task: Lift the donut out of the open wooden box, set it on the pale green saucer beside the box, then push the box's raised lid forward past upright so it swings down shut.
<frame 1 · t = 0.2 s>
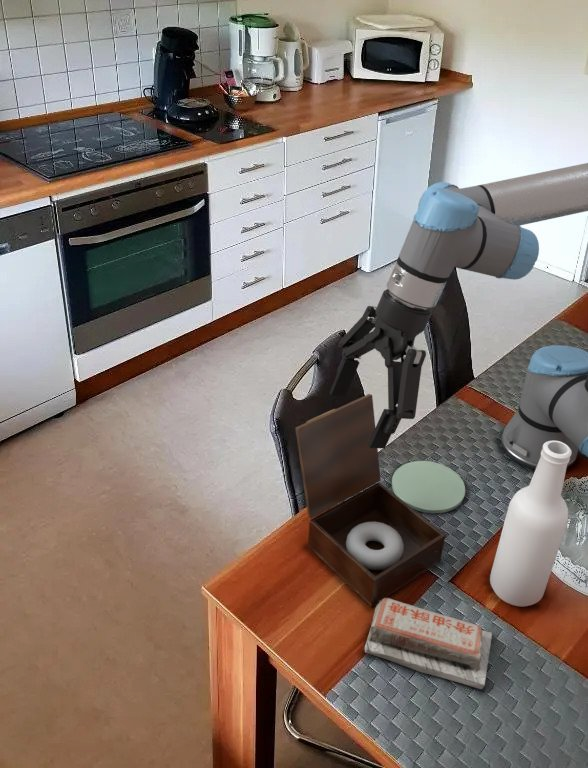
hand: (355, 419, 114), 27 cm above the table, tool tilted 20°, fingers open, 13 cm apart
lid: (332, 451, 127), point 15 cm above the table, hinge at 105.1°
packaged product: (427, 646, 113), on the table
wooden box: (373, 554, 128), on the table
donut: (373, 552, 127), resting on wooden box
saucer: (427, 487, 142), on the table
alcohol: (515, 588, 123), on the table
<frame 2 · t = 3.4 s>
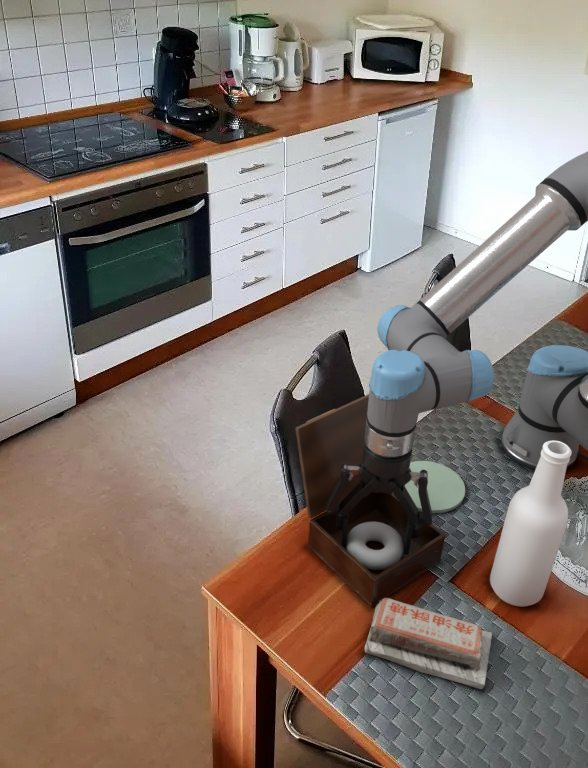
hand: (374, 545, 126), 2 cm above the table, tool pointing down, fingers closed on donut, 10 cm apart
donut: (373, 552, 127), resting on wooden box, touching gripper
everything else where it was.
when the fingers open (2 cm above the table, at t = 11.0 s): donut stays where it is, resting on saucer.
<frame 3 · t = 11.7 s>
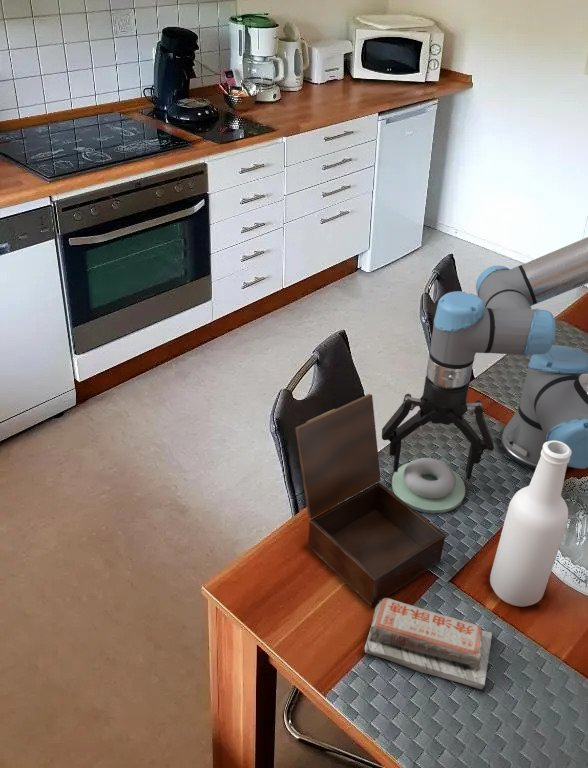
hand: (431, 471, 140), 4 cm above the table, tool pointing down, fingers open, 13 cm apart
donut: (428, 485, 142), point 1 cm above the table, touching saucer
everything else where it was.
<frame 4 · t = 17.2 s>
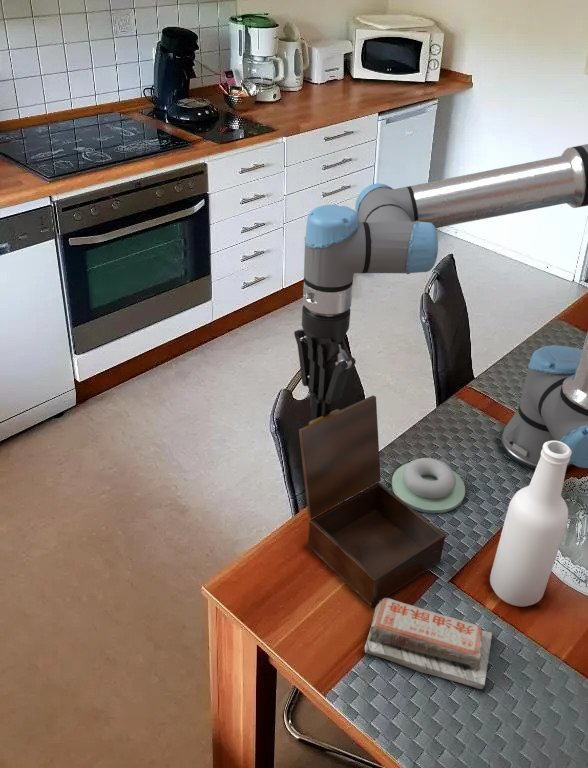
hand: (319, 426, 128), 18 cm above the table, tool pointing down, fingers closed
lid: (334, 452, 127), point 15 cm above the table, hinge at 101.8°, touching gripper
everything else where it was.
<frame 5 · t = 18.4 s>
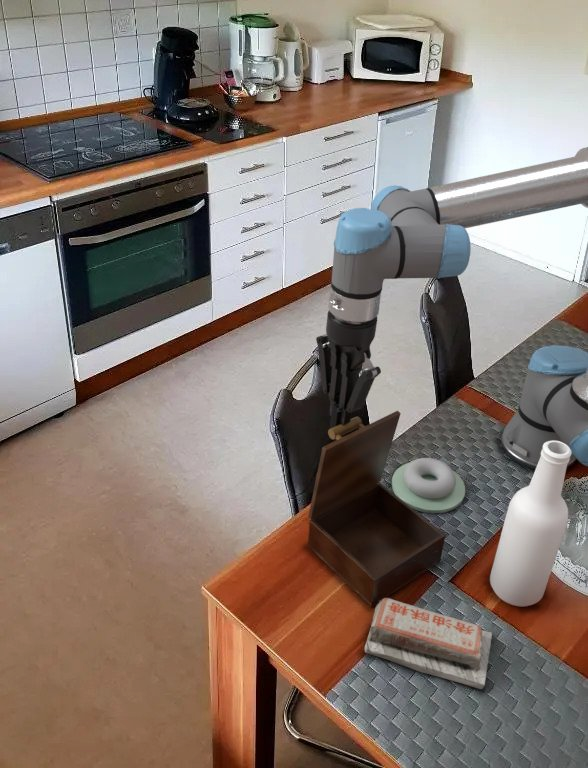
hand: (337, 434, 124), 19 cm above the table, tool pointing down, fingers closed
lid: (345, 457, 124), point 16 cm above the table, hinge at 81.7°, touching gripper
everything else where it was.
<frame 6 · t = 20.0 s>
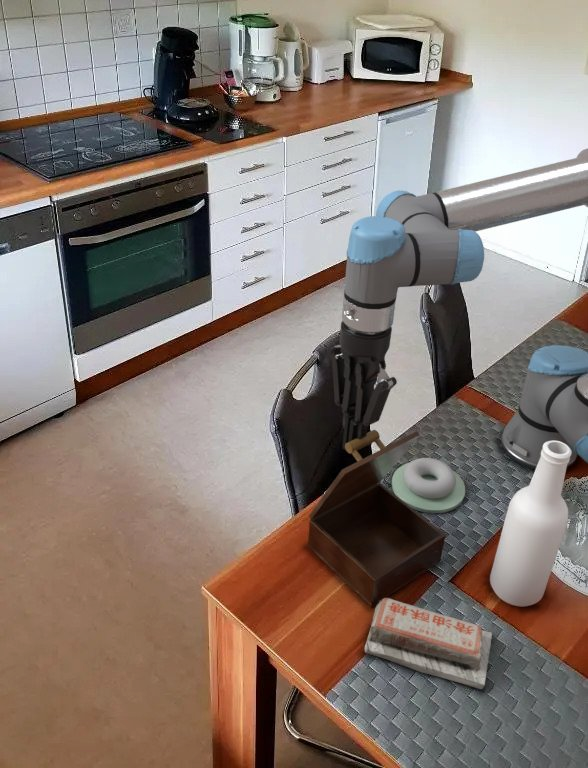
hand: (352, 447, 121), 19 cm above the table, tool pointing down, fingers closed
lid: (355, 466, 123), point 16 cm above the table, hinge at 65.3°, touching gripper
everything else where it was.
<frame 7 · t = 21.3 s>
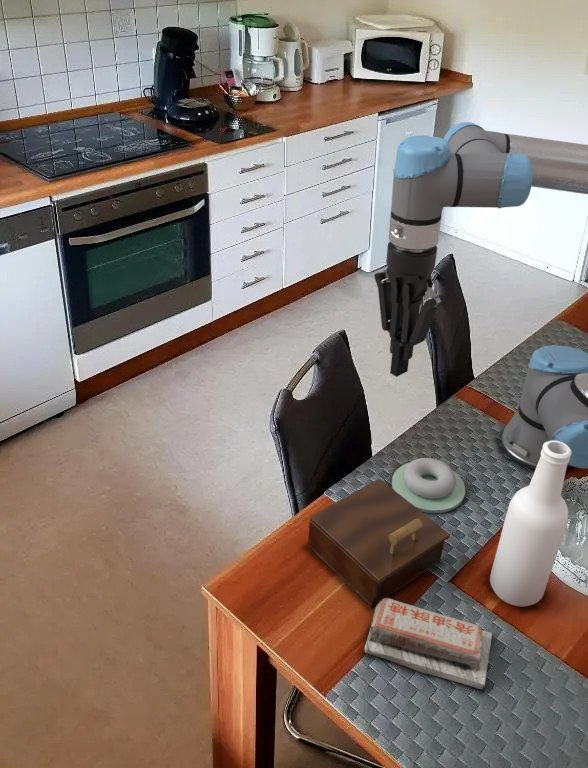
hand: (398, 372, 126), 27 cm above the table, tool pointing down, fingers closed
lid: (380, 517, 122), point 9 cm above the table, hinge at -0.1°
everything else where it was.
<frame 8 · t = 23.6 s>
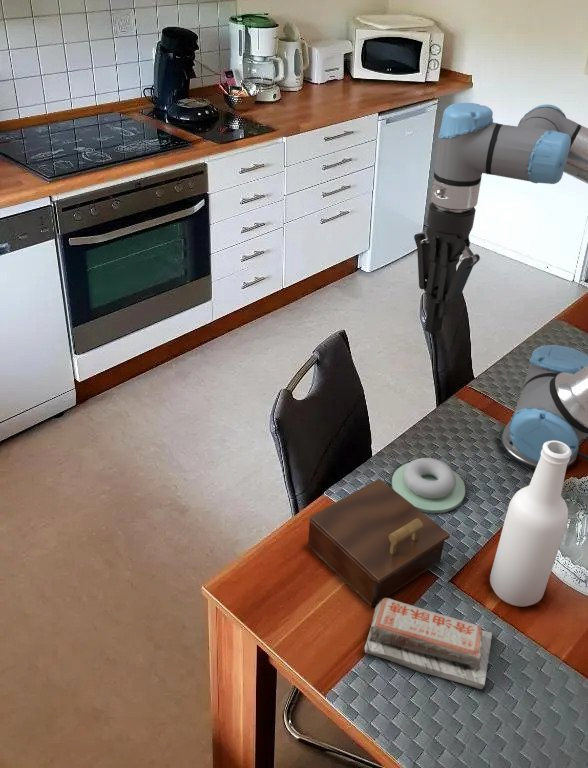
hand: (433, 329, 134), 29 cm above the table, tool pointing down, fingers closed
nothing on the table moved.
at the end: donut inside the target area on the saucer (0.1 cm from its centre), point 0.6 cm above the saucer's base; lid at +0° (first picture: +105°); the gripper is holding nothing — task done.
